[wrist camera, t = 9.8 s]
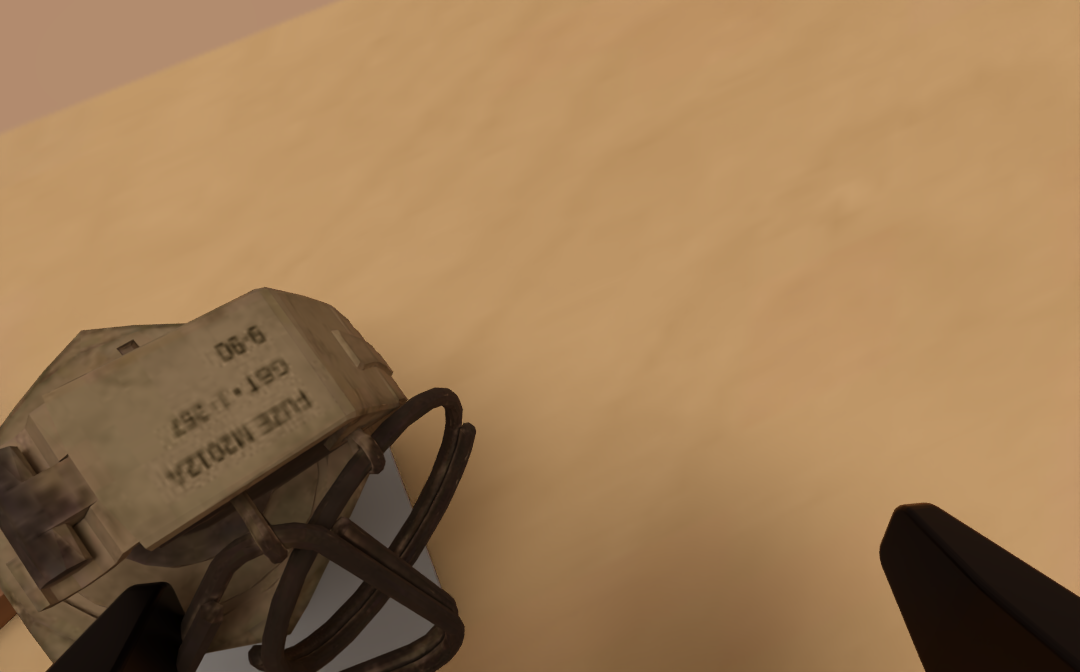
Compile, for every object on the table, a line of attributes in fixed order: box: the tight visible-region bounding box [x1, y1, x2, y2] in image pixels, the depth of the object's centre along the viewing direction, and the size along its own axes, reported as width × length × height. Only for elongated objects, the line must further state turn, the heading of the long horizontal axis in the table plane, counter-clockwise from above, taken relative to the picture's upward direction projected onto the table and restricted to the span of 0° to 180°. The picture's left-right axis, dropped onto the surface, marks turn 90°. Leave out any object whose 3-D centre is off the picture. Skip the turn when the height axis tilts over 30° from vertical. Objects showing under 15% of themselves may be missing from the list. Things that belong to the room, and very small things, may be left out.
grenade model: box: [0, 287, 476, 672], centre depth 14 cm, size 6×7×15 cm
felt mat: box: [196, 447, 442, 672], centre depth 21 cm, size 9×9×1 cm
